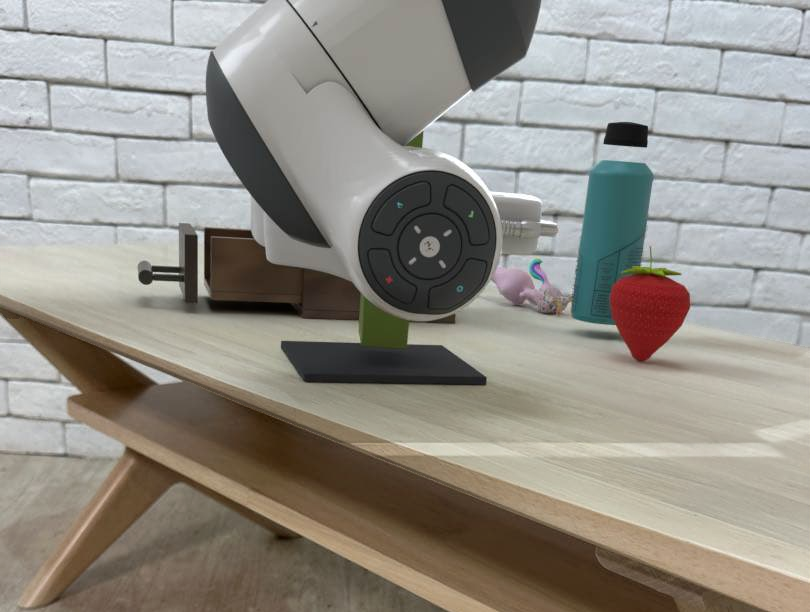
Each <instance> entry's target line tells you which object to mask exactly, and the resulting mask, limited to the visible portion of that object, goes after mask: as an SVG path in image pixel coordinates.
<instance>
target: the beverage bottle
mask: <svg viewBox="0 0 810 612" xmlns="http://www.w3.org/2000/svg"><path fill="white" fill-rule="evenodd" d="M648 138H649V125H646V124H642V123H638V122H633V121H616V122H609V123H607V125H606V129H605V135H604V138H603V143H602V144H603V145H607V146H617V147H630V148H632V147H633V148H642V149H643V148H645V149H646V148H647V149H648V144H649V143H648V142H649V141H648ZM654 180H655V175H654V172H653V171H652V170H651V168H650V167H649V166H648V165H647V164H646V162H637V161H635V162H634V161H623V160H611V159H600V160H599V161H598V162H597V163H596V164H595V165H593V166H592V167H591V168H590V169H589V170H588V181H587V189H586V196H585V204H584V210H583V219H582V227H581V235H580V237H579V238H578V241H577V243H579V245H578V248H577V251H578V254H577V259H576V261H575V262H576V267H575V270H574V277H573V279H574V284H572V286H573V287H572V293H571V297H572V298H573V300H572V299H571V300H572V302H570V308H569V310H570V313H571V318H572V319H573V320H576V321H579V322H584V323H590V324H595V325H596V324H597V325H604V326H616V324H615V322H614V320H613V318H612V315H611V307H610V299H609V296H610V293H611V291H612V288H613V285H614V284H615V283H616V282H617V281H618V280H619V279H620V278H623V277H627V276H631V275H635V274H625V273H621V272H622V271H626V269H633V268H632V267H633V266H641V267H643V253H644V247H645V239H646V236H647V234H648V233H646V232H649V231H648V225H647V224H648V221H649V216H650V214H649V209H650V202H651V197H652V196H651V195H652V190H653V183H654Z"/></svg>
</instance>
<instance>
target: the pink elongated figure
mask: <svg viewBox="0 0 810 612" xmlns="http://www.w3.org/2000/svg"><path fill="white" fill-rule="evenodd" d="M542 263H543V260H542V259H540V258H534V259H533V260H531V262H530V264H529V266H528V267H529V268H528V270H529V271H528V272H529V274H528V272H526V271H525V270H523V269H522V268H517V267H512V268H511V267H510V268H507V267H501V266H500V267H499V266H498V267H497V269H496V271H495V273H494V275H493V277H492V279H491V280H490V281H491V282H492V283H494V284H495V285H496V288H497V290H498V293H499V294H500V295H501V296H503V298H505V299H506V300H508V301H509V302H510V301H511V304H512V305H514V306H521V305H523V303H525V301H528V303H530V304H531V305H533V306H537V308H538V309H539V310H540V312H541V313H543V314H551V313H553V312H554V313H555V314H556V315H557V317H559V313H561V314H563V312H564V311H566V308H567V307H568V305H569V303H572V300H573V298H572V295H571V296H564V294H563V293H562V291H561V290H560V289H559V288H557V287H556V286H554V285H552V284H551V283H550V282H549V280H548V277H547V274H546V273H545V271H544V270H543V269H542V267H541V264H542ZM532 278H533V279H535V280H537V281H540V282H541V283H542V284H541V286H540V287H539V288H538V289H536V287H535V283H534V281H533V279H532ZM571 299H572V300H571Z"/></svg>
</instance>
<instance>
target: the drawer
mask: <svg viewBox="0 0 810 612" xmlns="http://www.w3.org/2000/svg"><path fill="white" fill-rule="evenodd" d="M198 244H199V235H198V233H197V232H196V231H195V229H194V227H193V226H192V224H191V223H188V222H179V223H178V266H174V265H155V264H154V265H153V264H151V262H149V261H148V260H140V261H139V263H138V264H137V267H136V268H137V279H138V281H139V282H140V284H142V285H144V286H149V285H151V284H152V283H153V281H154V282H155V281H156V282H173V283H174V282H175V283H178V285H179V289H180V292H181V295H182V298H183V301H184V303H185V304H198V303H199V277H198V276H199V245H198ZM203 285H204V287H205V290H206V292H207V294H208V296H209V299H210V300H211V301H231V302H259V303H282V304H285V303H286V304H290V303H302V291H303V269H299V268H293V267H287V266H286V265H278V264H273V263H271V262H269V261H268V260H267V258H266V249H265V247H264V246H262V245H260V244H259V243H258V242H257V241H256V240H255V239H254V237H253V235H252V232H251V229H249V228H246V229H245V228H229V227H215V226H214V227H213V226H212V227H210V226H204V227H203Z"/></svg>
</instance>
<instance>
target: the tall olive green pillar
mask: <svg viewBox="0 0 810 612" xmlns="http://www.w3.org/2000/svg"><path fill="white" fill-rule="evenodd" d="M423 142H424V130H423V131H422V132H421V133H420V134H419V135H417V136H416V137H415V138H414V139H412V140H411V141H410V142H409V143H408V144H406V145H405V146H411V147H419V148H423V144H424V143H423ZM409 326H410V322H409V320H405V319H401V318H398V317H396V316H393V315H391V314H389V313H387V312H385V311H383V310H381V309H380V308H378V307H377V306H375V305H374V304H373V303H371V302H370V301H369V300H368V299H367V298H366V297H365V296H364V295H363V294H362V293H361V297H360V314H359V320H358V337H359V341H360V342H359V343H361V346H363V347H379V348H396V349H407V344H408V341H409Z"/></svg>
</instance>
